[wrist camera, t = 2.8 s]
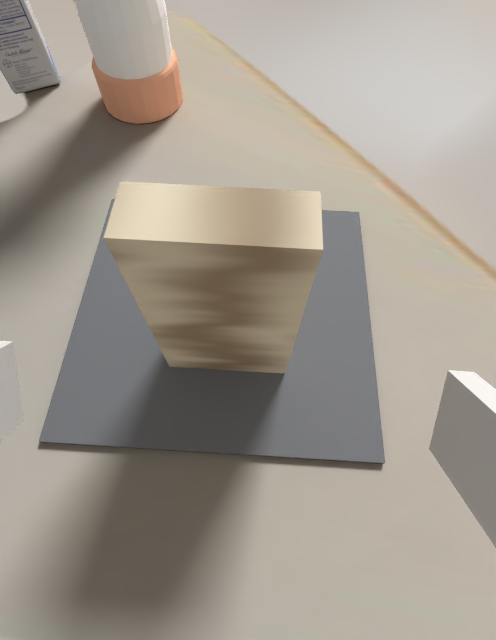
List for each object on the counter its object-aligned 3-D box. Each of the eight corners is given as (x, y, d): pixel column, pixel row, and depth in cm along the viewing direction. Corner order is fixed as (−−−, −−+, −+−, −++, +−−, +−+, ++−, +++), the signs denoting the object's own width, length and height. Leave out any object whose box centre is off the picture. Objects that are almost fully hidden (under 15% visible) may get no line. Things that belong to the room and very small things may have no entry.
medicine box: (62, 85, 36) (12, -32, 28) (14, 96, 35) (-51, -21, 27) (46, 43, 39) (-2, -72, 31) (2, 52, 38) (-59, -64, 30)
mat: (41, 442, 21) (38, 441, 20) (113, 201, 29) (112, 199, 29) (383, 463, 20) (384, 463, 20) (357, 214, 29) (359, 212, 28)
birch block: (169, 366, 23) (103, 237, 12) (175, 329, 24) (120, 181, 13) (284, 373, 22) (323, 249, 12) (285, 335, 24) (320, 191, 13)
